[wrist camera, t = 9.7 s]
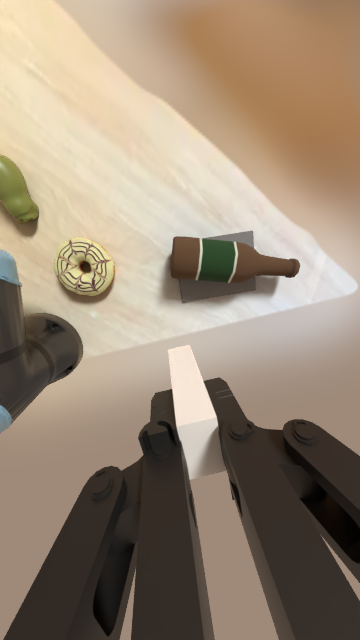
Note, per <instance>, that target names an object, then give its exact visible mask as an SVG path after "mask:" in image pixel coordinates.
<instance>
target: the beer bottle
mask: <svg viewBox="0 0 360 640" xmlns="http://www.w3.org/2000/svg"><path fill="white" fill-rule="evenodd" d="M299 268H300V264H299V261H298V260H296V259H289V260H288V259H281V258H275V257H269V256H265V255H261V254H259V253H258V252H257V251H256V250H255V249H254V248H253V247H251V246H249V245H247V244H245V243H239V242H232V241H222V240H212V239H202V238H192V237H174V239H173V248H172V262H171V277H173V278H178V279H188V280H200V281H213V282H225V283H241V282H244V281H248V280H249V279H251V278H253V277H254V276H262V275H269V276H285V277H288V278H291V277H295V276H296V274H297V273H298V272H299Z"/></svg>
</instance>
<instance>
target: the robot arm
mask: <svg viewBox="0 0 360 640" xmlns="http://www.w3.org/2000/svg"><path fill="white" fill-rule="evenodd" d="M21 287H22V284H21V283H20V282H19V277H18V272H17V267H16V262H15V260H14V258H13V257H12V256H11V255H10V254H9V253H7V252H6V251H4V250H2V249H0V433H1V432H2V431H4V430H5V429H7V428H8V427H9V426H10V425H11V423H12V422H13V421H14V420H15V419H16V418H17V417H18V416H19V415H20V414H21V413H22V412H23V411H24V409H25V408H26V407H27V406H28V405H29V404H30V403H31V402H32V401H33V400H34V399H35V398H36V397H37V396H38V394H39V393H40V392H41V391H42V390H43V389H44V388H45V387H46V386H47V385H49V384H51V383H53V382H56V381H57V380H60V379H62V378H64V377H66V376H67V375H69V374H70V373H71V372H72V371H73V370H74V369H75V368H76V366H77V365H78V364H79V362H80V360H81V358H82V354H83V345H82V341H81V338H80V336H79V334H78V333H77V331H76V330H75V329H74V327H73V326H72V325H71V324H69V323H68V322H67V321H65V320H64V319H62V318H60V317H58V316H55V315H52V314H46V313H36V314H31V315H28V316H26V317H24V312H23V303H22V295H21ZM168 354H169V362H170V372H171V382H172V389H170V390H166V391H162V392H158V393H155V395H154V397H153V399H152V400H151V417H150V422H149V423H148V424H146V425H145V426H144V427H143V429H142V430H141V432H140V434H139V437H138V438H139V442H140V445H141V447H142V451H143V454H144V455H143V456H142V457H141V458H140V459H139V460H138V461H137V462H135V463H134V464H132V465H131V466H129V467H127V468H126V469H124V470H122V471H121V470H120V469H119V468H118V467H114V466H109V467H104V468H102V469H101V470H99V471H97V472H96V473H95V474H94V475H93V476H91V477H90V478H89V480H88V481H87V483H86V484H85V486H84V487H83V489H82V491H81V493H80V495H79V497H78V499H77V501H76V502H75V504H74V506H73V508H72V510H71V512H70V514H69V516H68V518H67V520H66V521H65V523H64V525H63V527H62V529H61V531H60V533H59V535H58V537H57V539H56V540H55V542H54V544H53V546H52V548H51V550H50V552H49V554H48V556H47V558H46V559H45V561H44V563H43V565H42V567H41V569H40V571H39V573H38V575H37V577H36V579H35V580H34V582H33V584H32V586H31V588H30V590H29V592H28V594H27V596H26V598H25V599H24V602H23V603H22V605H21V607H20V609H19V611H18V613H17V615H16V617H15V619H14V620H13V622H12V624H11V626H10V628H9V630H8V632H7V634H6V636H5V637H4V640H119V639H120V635H121V630H122V626H123V621H124V617H125V613H126V608H127V604H128V599H129V594H130V590H131V586H132V582H133V577H134V573H135V568H136V577H135V592H134V605H133V619H132V634H131V640H215V639H214V633H213V626H212V619H211V612H210V606H209V599H208V592H207V586H206V579H205V572H204V566H203V559H202V552H201V546H200V540H199V532H198V526H197V519H196V513H195V506H194V499H193V494H192V490H191V486H190V480H191V479H195V478H198V477H202V476H206V475H210V474H214V473H218V472H222V471H226V470H227V473H228V476H229V481H230V487H231V493H232V499H233V500H235V503H236V506H237V508H238V512H239V515H240V518H241V522H242V525H243V528H244V531H245V534H246V537H247V540H248V544H249V547H250V550H251V553H252V556H253V559H254V562H255V566H256V569H257V572H258V575H259V578H260V581H261V584H262V588H263V591H264V594H265V597H266V600H267V603H268V607H269V610H270V612H271V616H272V619H273V622H274V625H275V628H276V632H277V634H278V638H279V640H360V601H359V599H358V597H357V596H356V594H355V592H354V591H353V589H352V587H351V586H350V584H349V582H348V581H347V579H346V577H345V575H344V574H343V572H342V570H341V569H340V567H339V565H338V564H337V562H336V560H335V559H334V557H333V555H332V553H331V552H330V550H329V549H328V547H327V545H326V543H325V542H324V540H323V538H324V539H325V540H326V542H327V543H328V544H329V545H330V547H331V548H332V549H333V550H334V552H335V553H336V554H337V555H338V557H339V558H340V559H341V560H342V561H343V563H344V564H345V565H346V566H347V568H348V569H349V570H350V571H351V573H352V574H353V575H354V576H355V578H356V579H357V580H358V581H359V583H360V456H359V455H357V454H356V453H355V452H353V451H352V450H350V449H349V448H348V447H347V446H345V445H344V444H342V443H341V442H340V441H338V440H337V439H336V438H334V437H333V436H332V435H330V434H329V433H327V432H326V431H325V430H323V429H322V428H321V427H319V426H317V425H315V424H314V423H312V422H309V421H306V420H300V419H299V420H298V419H294V420H291V421H288V422H287V423H286V424H285V425H284V427H283V430H271V429H263V428H260V427H257V426H255V425H254V424H253V422H251V421H249V420H248V419H247V418H246V417H245V415H244V413H243V411H242V409H241V408H240V406H239V404H238V402H237V400H236V399H235V397H234V396H233V393H232V392H231V390H230V388H229V386H228V384H227V383H226V382H225V381H224V380H222V379H221V378H215V379H210V380H206V381H203V379H202V377H201V374H200V371H199V368H198V366H197V363H196V361H195V358H194V355H193V353H192V350H191V347H190V345H186V346H182V347H177V348H173V349H169V350H168ZM225 467H226V468H225ZM320 534H321V535H320ZM321 536H322V537H323V538H322V537H321Z"/></svg>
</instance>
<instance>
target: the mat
mask: <svg viewBox="0 0 360 640" xmlns="http://www.w3.org/2000/svg"><path fill="white" fill-rule="evenodd" d="M203 239H212V240H222V241H232V242H239V243H245V244H247V245H249V246H251V247H253V248H254V242H253V231H248V232H241V233H235V234H228V235H222V236H216V237H209V238H203ZM179 281H180V288H181V294H182V301H183V302H186V301H192V300H198V299H204V298H210V297H217V296H223V295H229V294H235V293H241V292H247V291H253V290H256V289H255V276H254V277H253V278H251V279H249V280H248V281H244V282H241V283H225V282H213V281H200V280H188V279H179Z"/></svg>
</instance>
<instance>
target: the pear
mask: <svg viewBox="0 0 360 640" xmlns="http://www.w3.org/2000/svg"><path fill="white" fill-rule="evenodd" d="M0 201H1V202H2V204H3V205H4V207H5V209H6V210H7V212H8V213H9V214H10V215H11V216H14V217H15V218H16V219H17V221H18V222H19V223H24V222H27V221H29V220H31V219H36V217H38V214H39V213H38V206H37V205H36V204H35V203H34V202H33V201H32V200H31V198H30V196H29V195H28V192H27V186H26V182H25V179H24V177H23V175H22V173H21V171H20V170H19V168H18V167H17V166H16V164H15V163H14V162H13V161H11V160H10V159H9V158H7V157H6V156H3V155H1V154H0Z"/></svg>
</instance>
